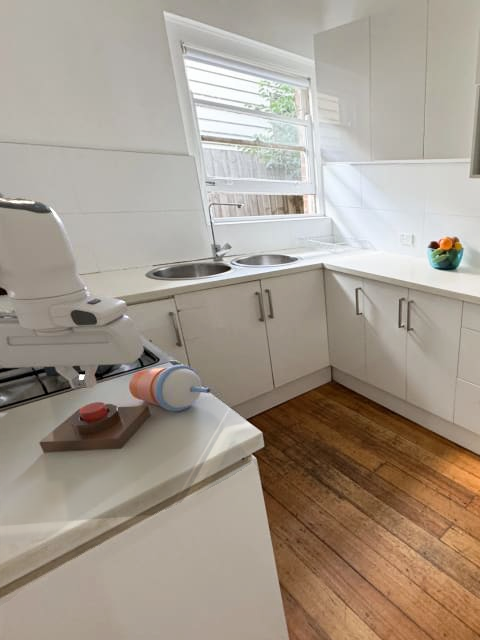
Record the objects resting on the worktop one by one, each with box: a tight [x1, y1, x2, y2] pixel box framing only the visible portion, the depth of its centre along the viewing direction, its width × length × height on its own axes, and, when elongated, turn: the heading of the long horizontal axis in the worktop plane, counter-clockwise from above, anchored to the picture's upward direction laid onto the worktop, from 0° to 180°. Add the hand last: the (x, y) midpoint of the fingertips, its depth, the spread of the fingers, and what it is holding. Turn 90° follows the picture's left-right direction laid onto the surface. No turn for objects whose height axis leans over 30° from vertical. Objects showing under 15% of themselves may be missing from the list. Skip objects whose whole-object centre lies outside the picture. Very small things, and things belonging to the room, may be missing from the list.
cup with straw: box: [128, 364, 212, 412], centre depth 75 cm, size 9×9×18 cm
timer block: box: [38, 403, 151, 453], centre depth 68 cm, size 12×10×4 cm
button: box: [78, 401, 108, 421], centre depth 67 cm, size 4×4×2 cm
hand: (84, 386), depth 65 cm, fingers closed
